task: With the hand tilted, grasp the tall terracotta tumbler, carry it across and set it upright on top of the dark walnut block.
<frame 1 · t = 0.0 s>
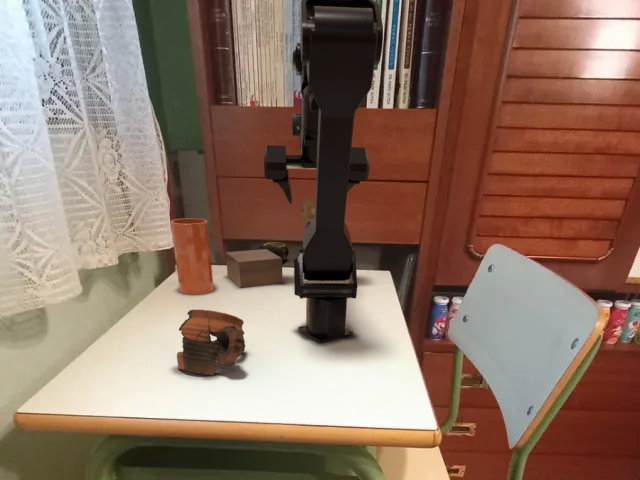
hand: (314, 202, 94), 15 cm above the table, tool tilted 35°, fingers open, 9 cm apart
tape measure: (273, 262, 114), on the table
tumbler: (196, 289, 94), on the table
block: (254, 279, 101), on the table
pottery mug: (217, 364, 65), on the table
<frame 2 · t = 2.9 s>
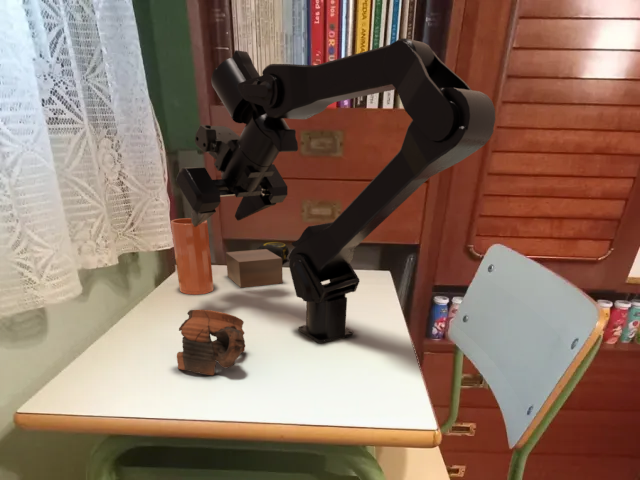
hand: (215, 221, 83), 13 cm above the table, tool tilted 45°, fingers open, 9 cm apart
nothing on the table moved.
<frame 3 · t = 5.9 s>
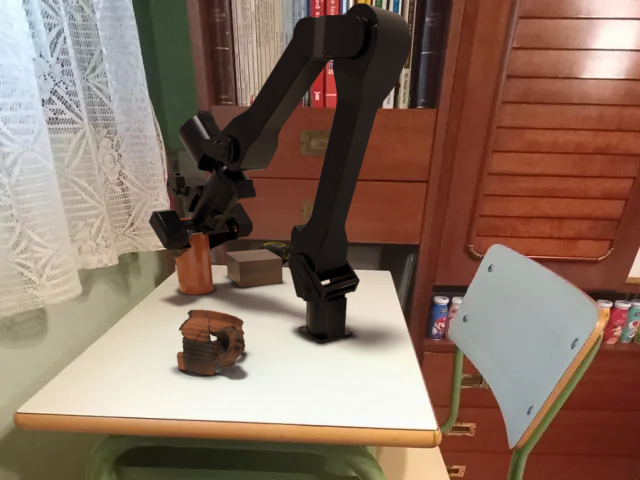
hand: (188, 253, 91), 7 cm above the table, tool tilted 45°, fingers closed on tumbler, 6 cm apart
tumbler: (196, 289, 94), on the table, touching gripper
everything else where it was.
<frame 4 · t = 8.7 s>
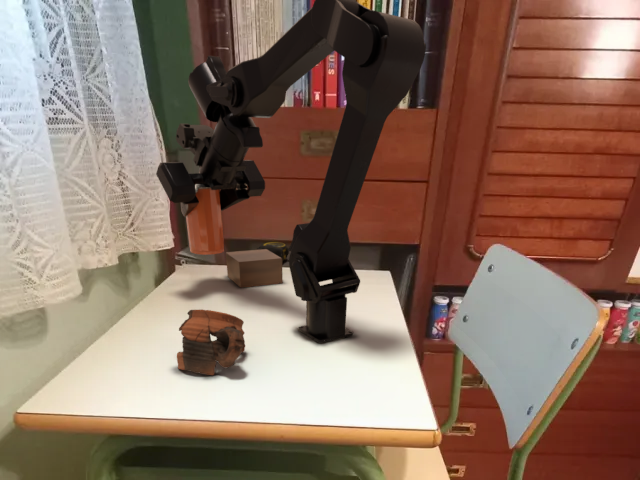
hand: (200, 212, 90), 13 cm above the table, tool tilted 45°, fingers closed on tumbler, 6 cm apart
tumbler: (207, 250, 92), point 7 cm above the table, touching gripper
everything else where it was.
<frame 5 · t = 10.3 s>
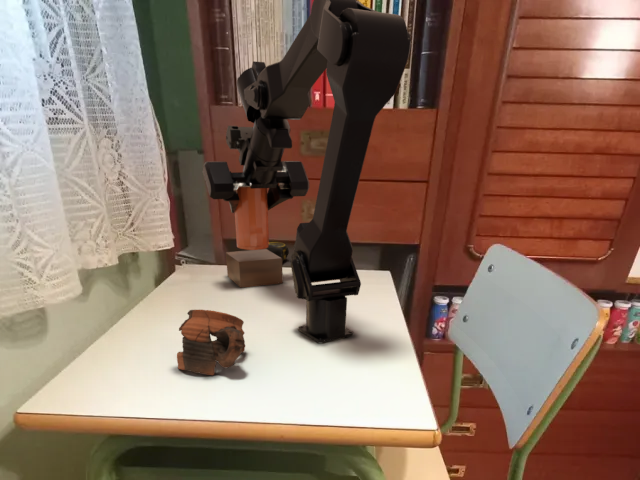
hand: (248, 210, 95), 13 cm above the table, tool tilted 45°, fingers closed on tumbler, 6 cm apart
tumbler: (252, 246, 97), point 7 cm above the table, touching gripper
everything else where it was.
when the fingers open (12 cm above the table, at t = 11.5 s): tumbler stays where it is, resting on block.
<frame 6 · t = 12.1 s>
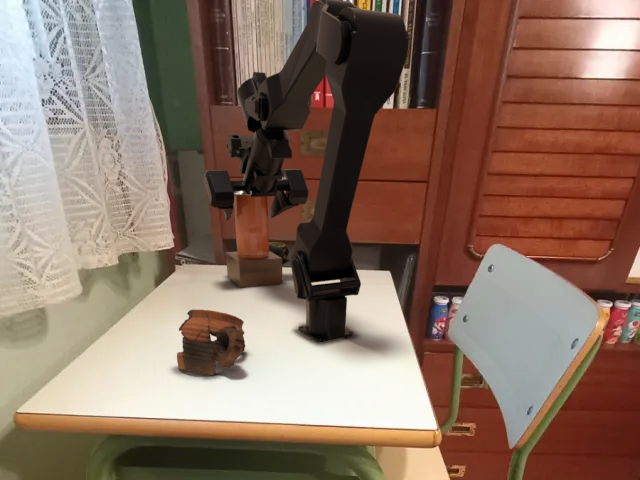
hand: (249, 217, 95), 12 cm above the table, tool tilted 45°, fingers open, 9 cm apart
tumbler: (253, 255, 98), point 5 cm above the table, touching block
block: (254, 279, 101), on the table, touching tumbler
everything else where it was.
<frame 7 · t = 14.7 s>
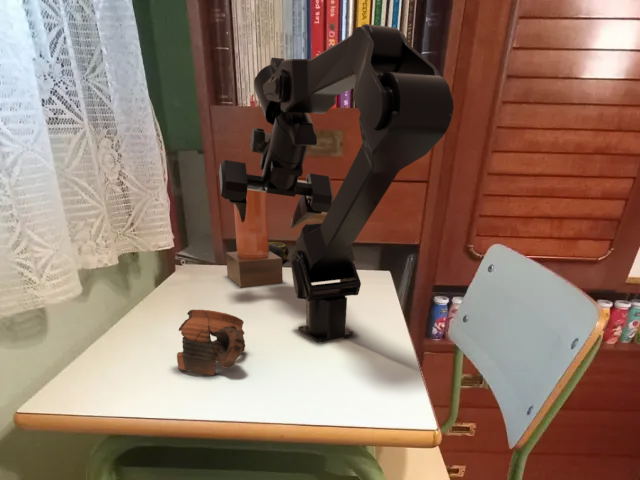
hand: (267, 223, 87), 12 cm above the table, tool tilted 40°, fingers open, 9 cm apart
nothing on the table moved.
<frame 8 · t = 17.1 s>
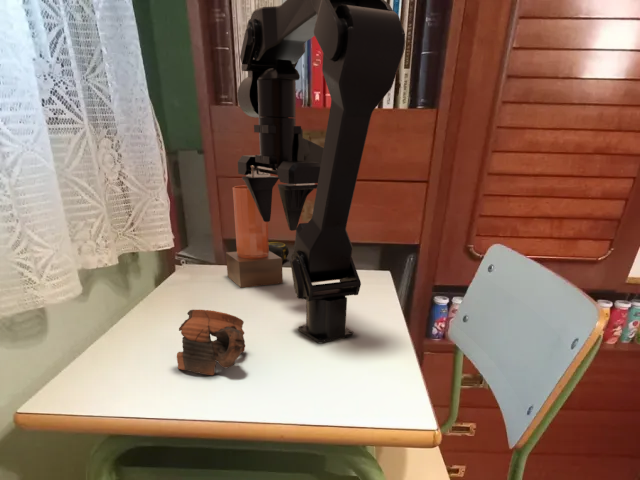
hand: (279, 225, 82), 13 cm above the table, tool pointing down, fingers open, 9 cm apart
nothing on the table moved.
at the end: tumbler 0.1 cm off-centre on the block, point 5.0 cm above the block's base; tumbler tilted 0° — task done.
